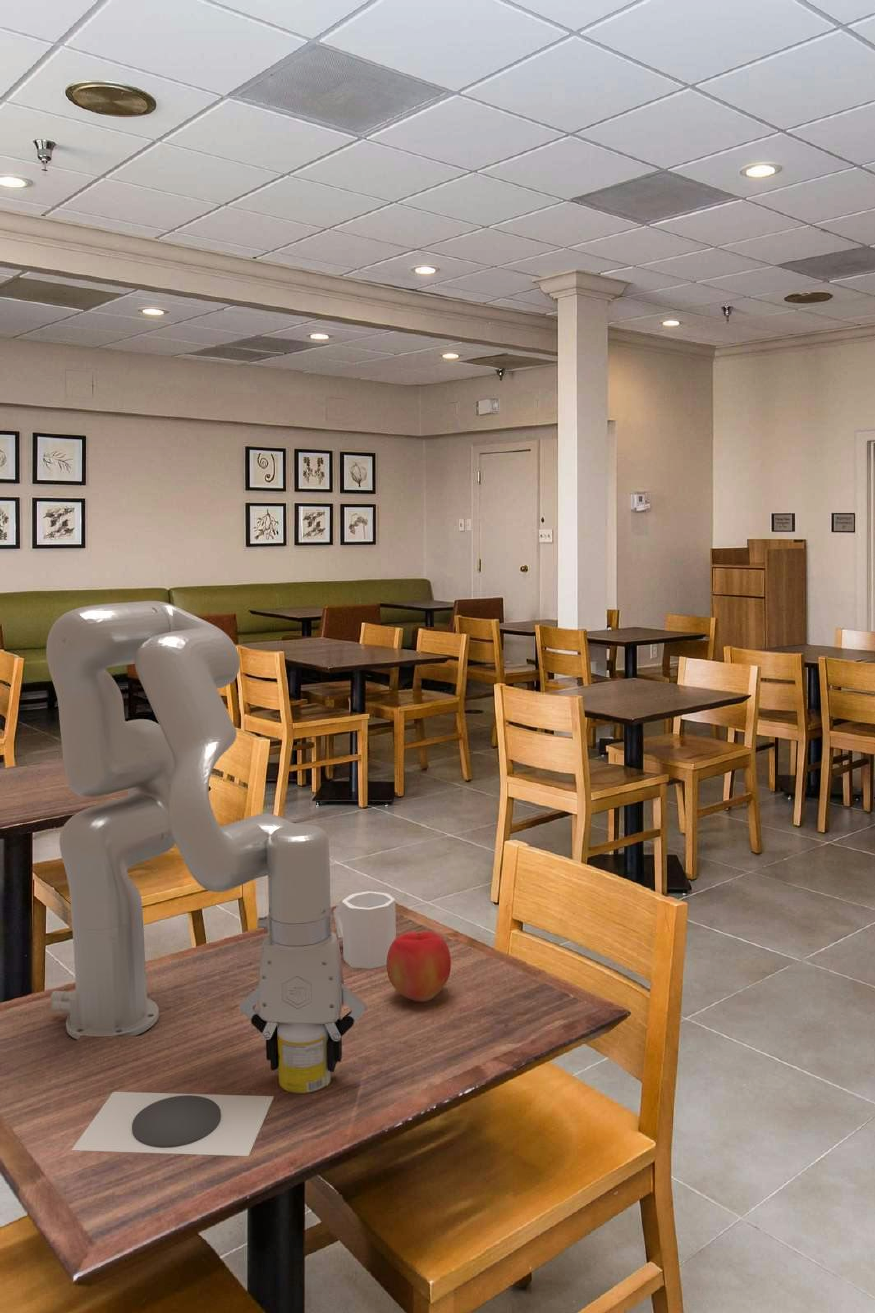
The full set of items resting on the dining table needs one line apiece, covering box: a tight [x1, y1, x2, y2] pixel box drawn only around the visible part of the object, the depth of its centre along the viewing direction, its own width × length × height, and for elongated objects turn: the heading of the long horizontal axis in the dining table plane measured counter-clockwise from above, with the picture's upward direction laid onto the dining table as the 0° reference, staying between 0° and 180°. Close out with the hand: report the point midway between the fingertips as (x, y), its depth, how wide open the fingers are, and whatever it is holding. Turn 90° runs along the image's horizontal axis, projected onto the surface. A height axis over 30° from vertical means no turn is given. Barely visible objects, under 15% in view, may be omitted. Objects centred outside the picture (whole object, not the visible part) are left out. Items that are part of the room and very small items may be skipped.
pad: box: [132, 1095, 221, 1148], centre depth 119 cm, size 10×10×1 cm
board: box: [71, 1091, 275, 1157], centre depth 119 cm, size 20×12×1 cm, turn 86°
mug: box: [333, 891, 397, 970], centre depth 168 cm, size 12×9×10 cm
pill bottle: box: [277, 1023, 332, 1095], centre depth 127 cm, size 6×6×12 cm
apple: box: [386, 931, 452, 1003], centre depth 152 cm, size 10×10×10 cm
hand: (304, 1064), depth 127 cm, fingers closed on pill bottle, 6 cm apart
